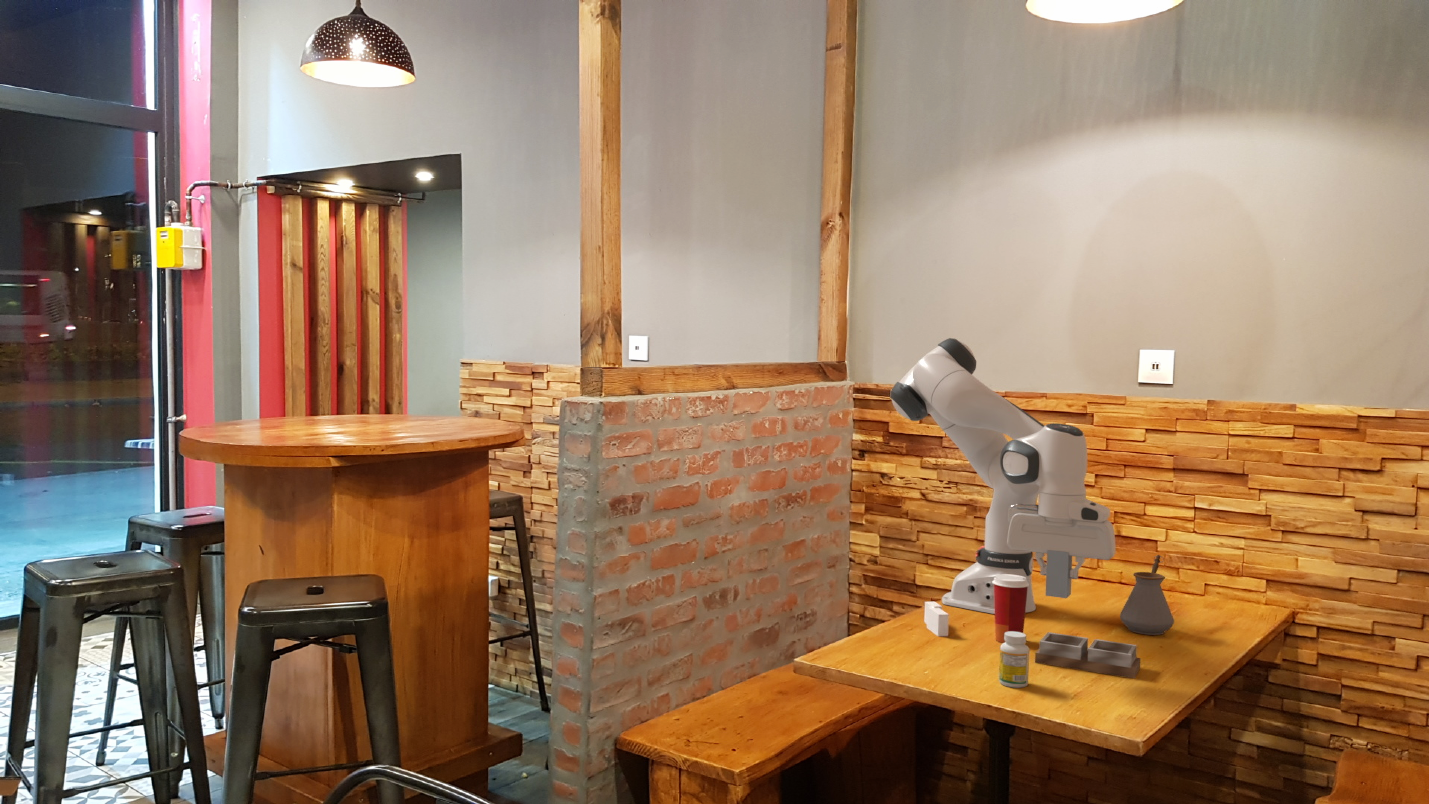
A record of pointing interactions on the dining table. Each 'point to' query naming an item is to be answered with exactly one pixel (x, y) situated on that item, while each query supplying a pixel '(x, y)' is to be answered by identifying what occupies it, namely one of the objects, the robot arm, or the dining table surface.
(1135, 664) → the two-compartment tray
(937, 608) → the white notched slab
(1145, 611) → the coffee pot
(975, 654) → the dining table surface
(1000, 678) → the supplement bottle
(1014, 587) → the paper cup
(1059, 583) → the gray rectangular block
